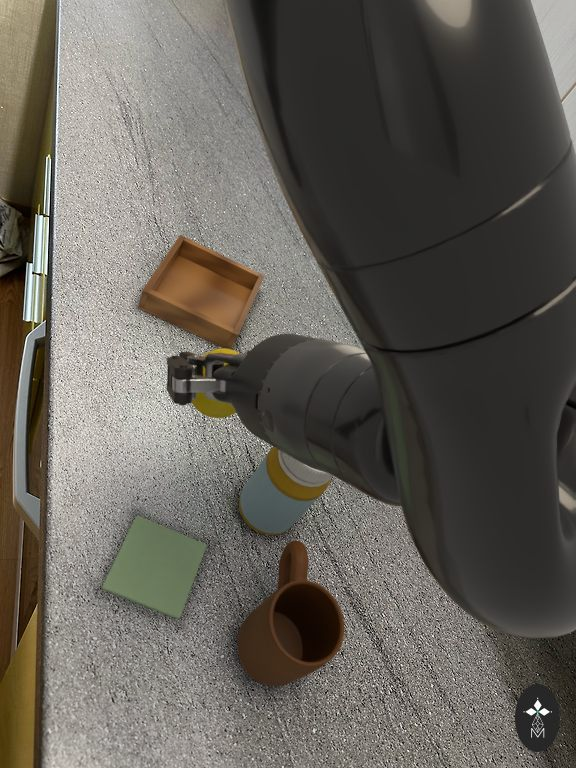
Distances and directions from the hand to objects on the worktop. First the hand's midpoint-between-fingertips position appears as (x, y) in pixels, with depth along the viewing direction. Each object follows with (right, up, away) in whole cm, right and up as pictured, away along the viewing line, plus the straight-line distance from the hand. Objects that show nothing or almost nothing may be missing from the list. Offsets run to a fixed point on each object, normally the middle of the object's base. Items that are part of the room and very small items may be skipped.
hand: (216, 363), depth 50 cm
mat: (-7, -20, +8) cm, 23 cm away
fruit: (-1, -4, +3) cm, 5 cm away
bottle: (+3, -16, +17) cm, 24 cm away
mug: (+4, -26, +9) cm, 28 cm away
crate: (-6, +10, +32) cm, 35 cm away
